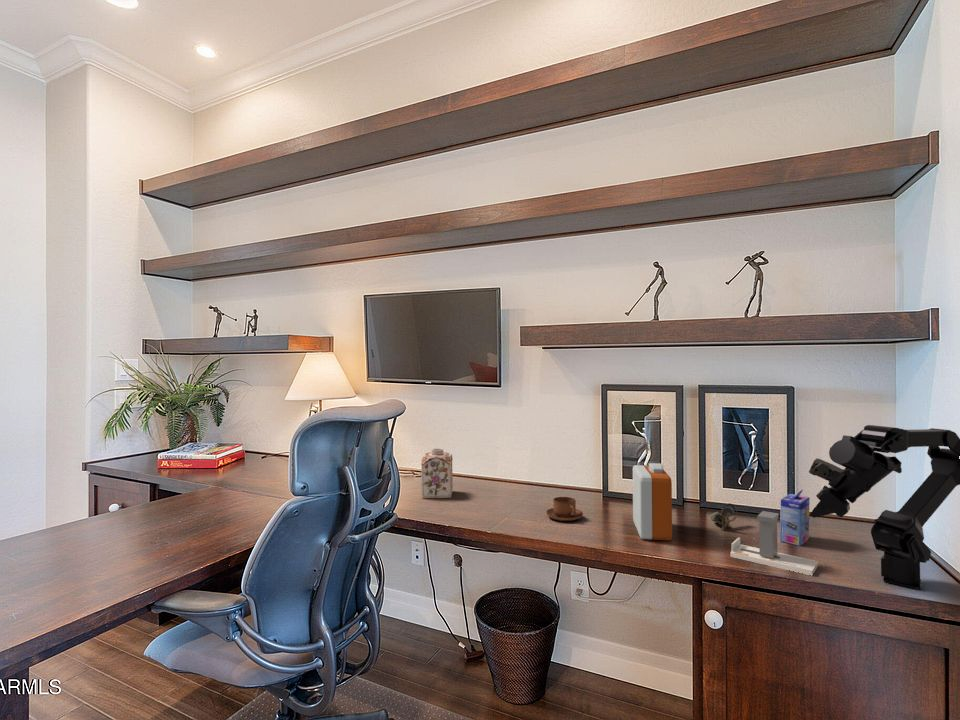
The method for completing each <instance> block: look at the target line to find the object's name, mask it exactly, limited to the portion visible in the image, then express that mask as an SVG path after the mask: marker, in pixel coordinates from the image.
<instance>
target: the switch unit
mask: <svg viewBox="0 0 960 720" xmlns="http://www.w3.org/2000/svg"><path fill="white" fill-rule="evenodd" d="M730 545H731V547H730V549H731V551H730V558H735V559H740V560H742V561H748V562H752V563H756V564H760V565H765V566H769V567H772V568H778V569H780V570H781V569H782V570H785V571H789V570H790V572H793V571H794V572H793V573H798V572H799V573H798V574H802V573H803V574H802V575H807V576H810V575H811V577H812V576H813V575H814V574H815V572H816V570H817V568H818V566H819V563H818V560H814V559H809V558H805V557H800V556H797V555H792V554H791V555H790V554H787V553H783V552H778V553H777V554H776V556H775V557H774V558H773V559H772V558H768V557H764V556H760V547H754V546H750V545H745V544H741V537H737V538H736V539H735V540H734V541H733V542H732V543H731V544H730ZM813 573H814V574H813Z"/></svg>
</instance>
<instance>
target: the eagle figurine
mask: <svg viewBox="0 0 960 720" xmlns="http://www.w3.org/2000/svg"><path fill="white" fill-rule="evenodd" d="M735 512H736V508H735V506H734V504H732V503H730V502H729V503H726V504H725V505H724V506H722V507H721V513H720V512H719V511H716V512H714V513H711V515H710V519H711V522H714V523H718V524H719V525H721V526H722V527H721V531H722V532H723V531H724V530H725V529H726V528H727V526H728V527H730V528H731V529H734V528H733V525H732V523H731V522H734V521H735V520H736V519H737V516H735V517H734V515H735ZM731 516H733V518H731V519H730V517H731Z"/></svg>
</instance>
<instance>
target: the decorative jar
mask: <svg viewBox="0 0 960 720" xmlns="http://www.w3.org/2000/svg"><path fill="white" fill-rule="evenodd" d="M420 463H421V466H420V467H421V469H420V472H421V474H420V475H421V477H420V479H421V483H420V485H421V489H420V490H421V499H451V498H452V495H453V473H454V472H453V454H452V453H449V452H444V448H440V447H437V448H432V449H431V452H426V453H423V454H422V456H421V462H420Z"/></svg>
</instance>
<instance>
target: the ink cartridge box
mask: <svg viewBox="0 0 960 720" xmlns="http://www.w3.org/2000/svg"><path fill="white" fill-rule="evenodd" d="M802 492H803V489H801V490H799V491H798V492H797V493H796V494H795V493H794V494H793V493H789V494H787V495H785V496H784V497H782V498H781V499H780V506H779V507H780V513H779V514H780V517H779V520H780V521H779V522H780V523H779V526H780V527H779V529H780V530H779V541H780V542H783V543H786V544H790V545H793V546H798V547H801V546H802V545H803V544H804V543H805V542H807V541H808V540H809V538H810V537H809V536H810V535H809V534H810V499H811V498H810V497H809V496H804V495H801V494H802Z"/></svg>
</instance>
